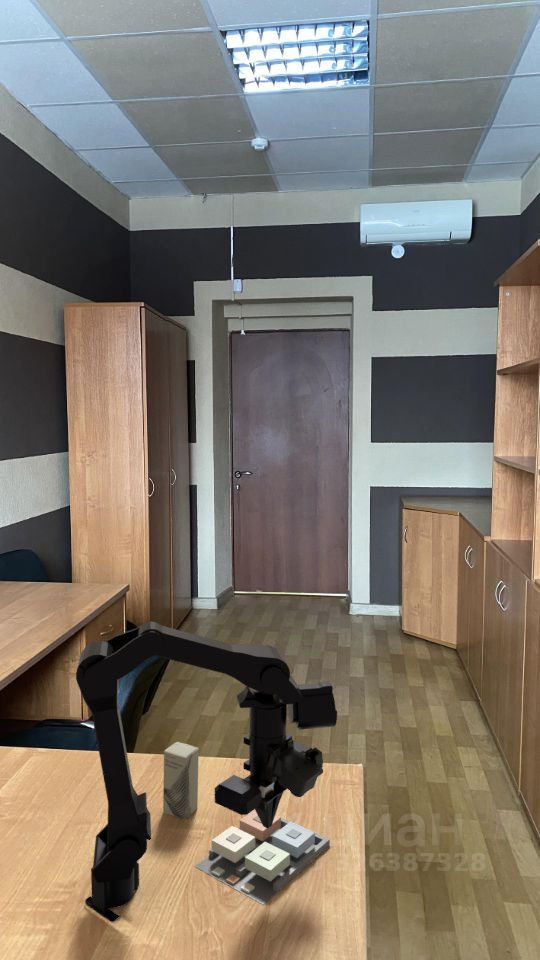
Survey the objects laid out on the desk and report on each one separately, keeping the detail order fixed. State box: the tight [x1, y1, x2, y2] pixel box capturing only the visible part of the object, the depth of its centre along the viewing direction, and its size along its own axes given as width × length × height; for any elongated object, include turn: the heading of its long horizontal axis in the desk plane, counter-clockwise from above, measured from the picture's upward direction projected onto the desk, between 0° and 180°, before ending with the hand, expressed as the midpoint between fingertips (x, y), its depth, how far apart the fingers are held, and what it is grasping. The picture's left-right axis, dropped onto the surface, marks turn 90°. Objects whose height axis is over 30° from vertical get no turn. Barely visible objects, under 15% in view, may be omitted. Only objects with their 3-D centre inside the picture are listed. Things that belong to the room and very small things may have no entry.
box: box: [162, 741, 200, 820], centre depth 126 cm, size 5×4×13 cm
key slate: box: [272, 821, 316, 858], centre depth 114 cm, size 5×5×2 cm
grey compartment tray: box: [194, 817, 331, 906], centre depth 113 cm, size 18×14×2 cm
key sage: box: [245, 842, 290, 881], centre depth 108 cm, size 5×5×2 cm
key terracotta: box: [239, 809, 282, 841], centre depth 118 cm, size 5×5×2 cm
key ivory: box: [211, 825, 255, 863], centre depth 112 cm, size 5×5×2 cm
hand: (267, 826), depth 108 cm, fingers closed
